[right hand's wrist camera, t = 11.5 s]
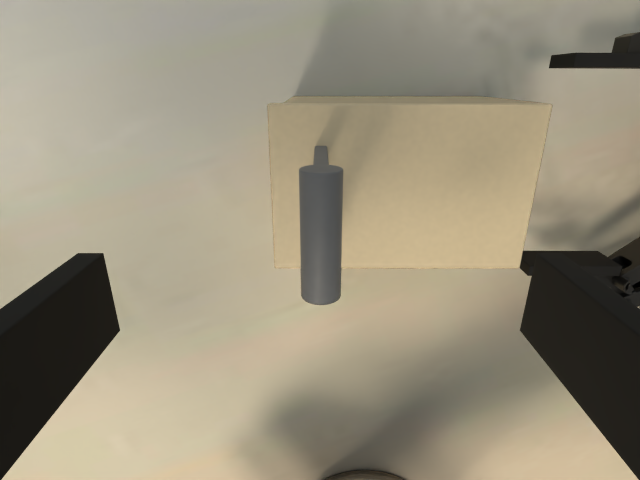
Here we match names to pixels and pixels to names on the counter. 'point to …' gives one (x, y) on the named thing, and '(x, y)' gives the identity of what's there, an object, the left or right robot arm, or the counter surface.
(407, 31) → the counter surface
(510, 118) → the lid
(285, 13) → the counter surface
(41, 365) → the right robot arm
